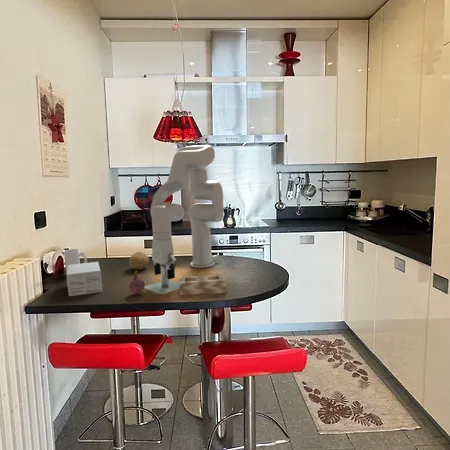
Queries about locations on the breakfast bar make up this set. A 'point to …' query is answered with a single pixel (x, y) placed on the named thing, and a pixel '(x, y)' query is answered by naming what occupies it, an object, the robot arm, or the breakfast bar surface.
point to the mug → (73, 257)
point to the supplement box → (84, 278)
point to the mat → (159, 290)
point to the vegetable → (136, 285)
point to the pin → (164, 276)
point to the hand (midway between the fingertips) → (164, 276)
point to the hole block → (202, 284)
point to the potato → (139, 260)
